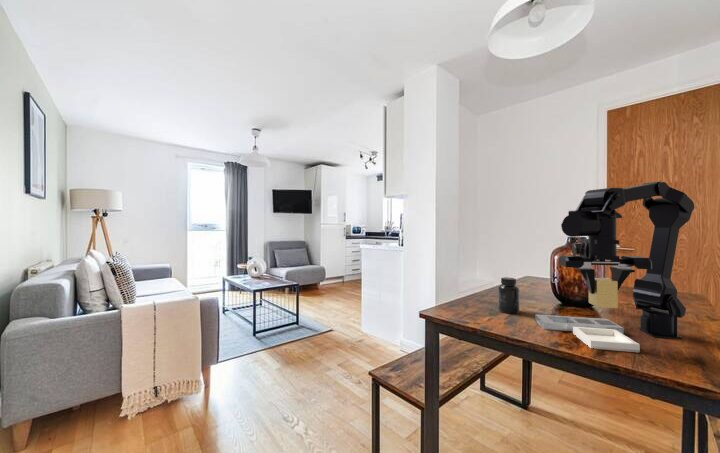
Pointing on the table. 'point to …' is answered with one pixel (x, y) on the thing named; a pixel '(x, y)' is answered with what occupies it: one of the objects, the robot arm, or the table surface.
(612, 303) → the wood grain block
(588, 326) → the grey flat plate
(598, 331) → the tray
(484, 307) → the table surface
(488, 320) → the table surface
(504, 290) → the supplement bottle
